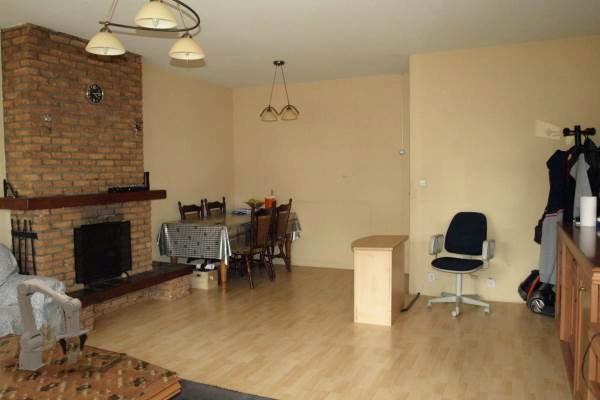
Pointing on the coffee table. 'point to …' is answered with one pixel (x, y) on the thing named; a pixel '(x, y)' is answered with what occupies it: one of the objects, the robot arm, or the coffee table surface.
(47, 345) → the ceramic cottage
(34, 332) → the robot arm
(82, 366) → the holder
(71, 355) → the lighter
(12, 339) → the coffee table surface
